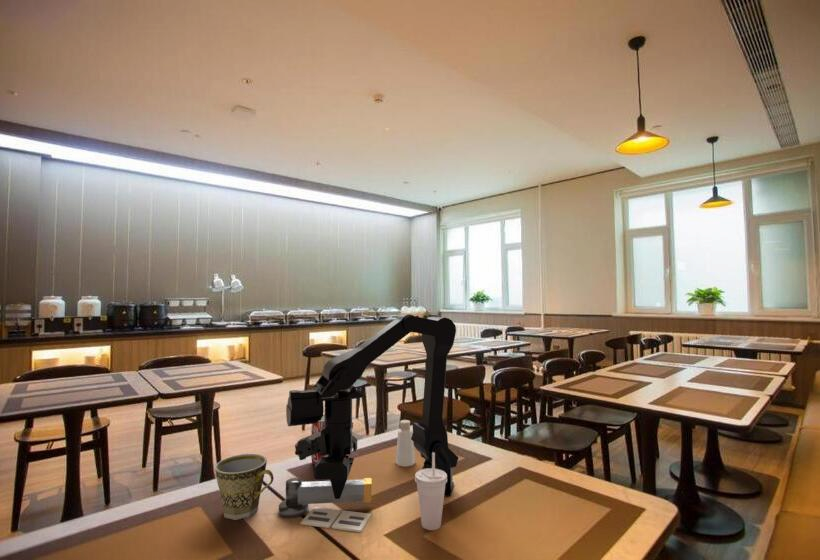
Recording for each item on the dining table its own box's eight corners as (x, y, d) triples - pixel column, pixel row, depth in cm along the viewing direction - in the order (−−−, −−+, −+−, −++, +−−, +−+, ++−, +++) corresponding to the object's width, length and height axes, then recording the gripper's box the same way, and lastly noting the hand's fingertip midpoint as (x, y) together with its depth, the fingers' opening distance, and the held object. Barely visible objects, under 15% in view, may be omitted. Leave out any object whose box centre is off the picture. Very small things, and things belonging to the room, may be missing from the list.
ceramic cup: (203, 519, 83) (203, 468, 84) (239, 496, 93) (239, 451, 93) (255, 532, 79) (255, 478, 79) (287, 506, 88) (288, 459, 89)
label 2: (371, 515, 85) (371, 513, 85) (361, 532, 79) (361, 529, 79) (343, 512, 86) (343, 510, 86) (331, 528, 80) (331, 525, 80)
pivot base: (313, 504, 89) (313, 499, 89) (299, 519, 83) (299, 513, 83) (287, 501, 90) (287, 496, 90) (272, 516, 85) (272, 510, 85)
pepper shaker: (415, 466, 108) (415, 424, 109) (394, 466, 109) (394, 424, 109) (415, 458, 114) (415, 418, 114) (395, 458, 114) (395, 418, 114)
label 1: (341, 512, 86) (341, 509, 86) (329, 528, 80) (329, 525, 80) (314, 508, 87) (314, 506, 87) (300, 524, 82) (300, 521, 82)
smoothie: (437, 538, 77) (437, 461, 77) (408, 527, 80) (408, 454, 81) (453, 521, 82) (452, 450, 83) (425, 512, 86) (424, 444, 86)
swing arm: (284, 507, 85) (284, 485, 85) (287, 499, 88) (287, 478, 88) (371, 503, 87) (371, 481, 87) (371, 495, 90) (371, 474, 90)
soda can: (335, 468, 107) (335, 421, 108) (307, 468, 108) (308, 421, 108) (340, 457, 115) (340, 414, 115) (314, 457, 115) (315, 413, 115)
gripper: (309, 410, 96) (308, 480, 94) (287, 433, 77) (285, 521, 76) (357, 410, 96) (357, 480, 95) (347, 433, 77) (346, 520, 76)
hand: (337, 498), depth 85 cm, fingers closed
